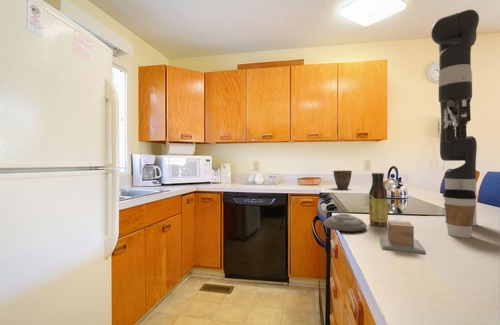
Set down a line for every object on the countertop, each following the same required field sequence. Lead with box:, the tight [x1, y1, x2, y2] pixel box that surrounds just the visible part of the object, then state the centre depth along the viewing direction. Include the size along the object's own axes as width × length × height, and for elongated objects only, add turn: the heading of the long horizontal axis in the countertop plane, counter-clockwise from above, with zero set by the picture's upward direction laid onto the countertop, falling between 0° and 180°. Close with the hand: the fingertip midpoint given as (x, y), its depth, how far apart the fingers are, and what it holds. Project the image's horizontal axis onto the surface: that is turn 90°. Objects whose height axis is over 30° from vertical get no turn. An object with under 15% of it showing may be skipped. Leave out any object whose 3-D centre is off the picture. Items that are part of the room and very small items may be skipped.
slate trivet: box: [379, 235, 426, 255], centre depth 72 cm, size 10×10×1 cm
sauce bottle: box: [368, 172, 389, 227], centre depth 96 cm, size 7×6×20 cm
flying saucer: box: [322, 213, 368, 233], centre depth 92 cm, size 15×15×6 cm
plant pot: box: [332, 170, 353, 191], centre depth 214 cm, size 15×15×16 cm
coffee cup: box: [442, 188, 477, 239], centre depth 81 cm, size 8×8×15 cm
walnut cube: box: [387, 219, 415, 246], centre depth 72 cm, size 6×6×6 cm
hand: (455, 140), depth 73 cm, fingers open, 8 cm apart
